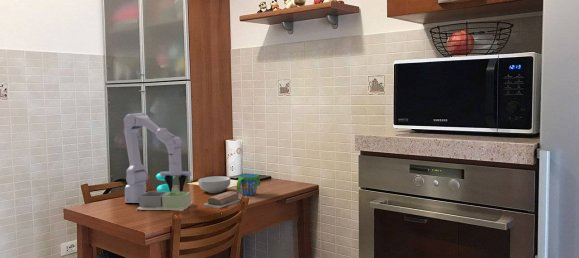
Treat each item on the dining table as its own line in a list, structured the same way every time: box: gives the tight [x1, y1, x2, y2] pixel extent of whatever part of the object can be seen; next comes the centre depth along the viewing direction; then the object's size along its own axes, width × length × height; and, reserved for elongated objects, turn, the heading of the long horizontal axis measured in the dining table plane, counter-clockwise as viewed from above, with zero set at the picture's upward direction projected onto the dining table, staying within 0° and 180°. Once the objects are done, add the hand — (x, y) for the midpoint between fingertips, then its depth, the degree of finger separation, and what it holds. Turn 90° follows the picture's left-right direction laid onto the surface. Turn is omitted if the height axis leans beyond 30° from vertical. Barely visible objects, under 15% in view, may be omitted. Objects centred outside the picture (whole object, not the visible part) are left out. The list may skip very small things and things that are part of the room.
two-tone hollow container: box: [136, 191, 193, 212], centre depth 233 cm, size 22×14×6 cm, turn 84°
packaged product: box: [202, 190, 242, 209], centre depth 238 cm, size 18×5×10 cm
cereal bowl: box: [197, 175, 231, 194], centre depth 264 cm, size 17×17×7 cm
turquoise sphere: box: [155, 172, 176, 193], centre depth 267 cm, size 10×10×10 cm
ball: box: [172, 184, 180, 194], centre depth 232 cm, size 4×4×4 cm
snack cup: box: [236, 173, 261, 197], centre depth 255 cm, size 16×10×10 cm
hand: (176, 191), depth 232 cm, fingers closed on ball, 4 cm apart
